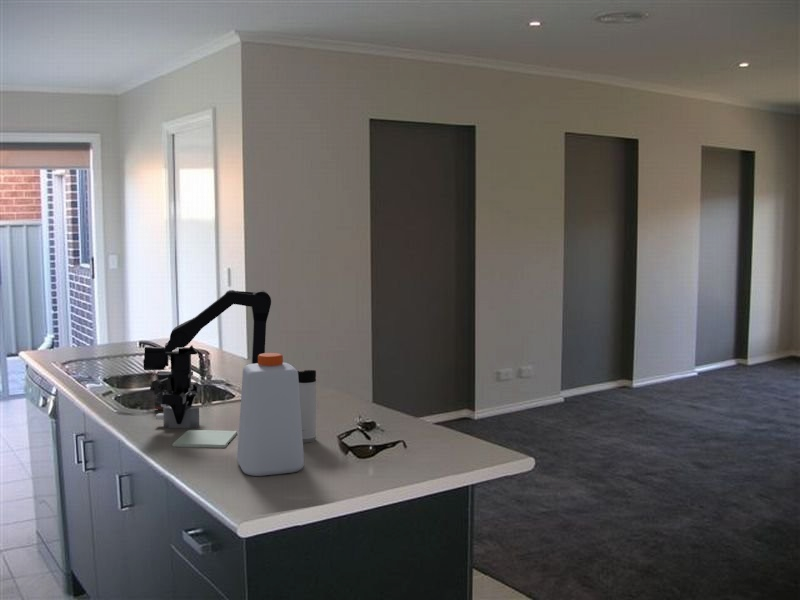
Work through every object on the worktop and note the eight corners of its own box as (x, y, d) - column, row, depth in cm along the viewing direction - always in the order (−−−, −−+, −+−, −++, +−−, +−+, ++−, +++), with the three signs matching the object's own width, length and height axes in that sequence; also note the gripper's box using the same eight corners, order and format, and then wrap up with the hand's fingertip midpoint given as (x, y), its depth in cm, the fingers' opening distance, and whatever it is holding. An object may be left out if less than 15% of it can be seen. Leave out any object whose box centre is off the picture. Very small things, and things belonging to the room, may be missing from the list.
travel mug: (298, 444, 212) (298, 371, 210) (289, 438, 218) (290, 367, 216) (319, 441, 215) (320, 370, 213) (310, 435, 221) (311, 366, 219)
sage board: (237, 433, 222) (237, 430, 222) (224, 447, 208) (224, 444, 208) (188, 432, 222) (188, 429, 222) (172, 446, 208) (172, 443, 208)
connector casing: (201, 424, 231) (201, 406, 231) (197, 428, 227) (196, 409, 226) (159, 423, 231) (159, 405, 231) (154, 427, 227) (154, 408, 227)
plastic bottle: (307, 472, 188) (308, 358, 185) (244, 479, 183) (244, 361, 180) (293, 455, 202) (293, 348, 200) (234, 460, 197) (234, 351, 194)
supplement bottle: (168, 411, 247) (167, 375, 246) (150, 409, 248) (150, 374, 247) (177, 406, 253) (176, 372, 251) (160, 405, 254) (159, 371, 253)
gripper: (163, 363, 237) (164, 413, 238) (142, 375, 218) (143, 429, 220) (200, 363, 237) (200, 414, 238) (181, 375, 218) (182, 430, 220)
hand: (181, 421), depth 229 cm, fingers closed on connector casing, 4 cm apart
